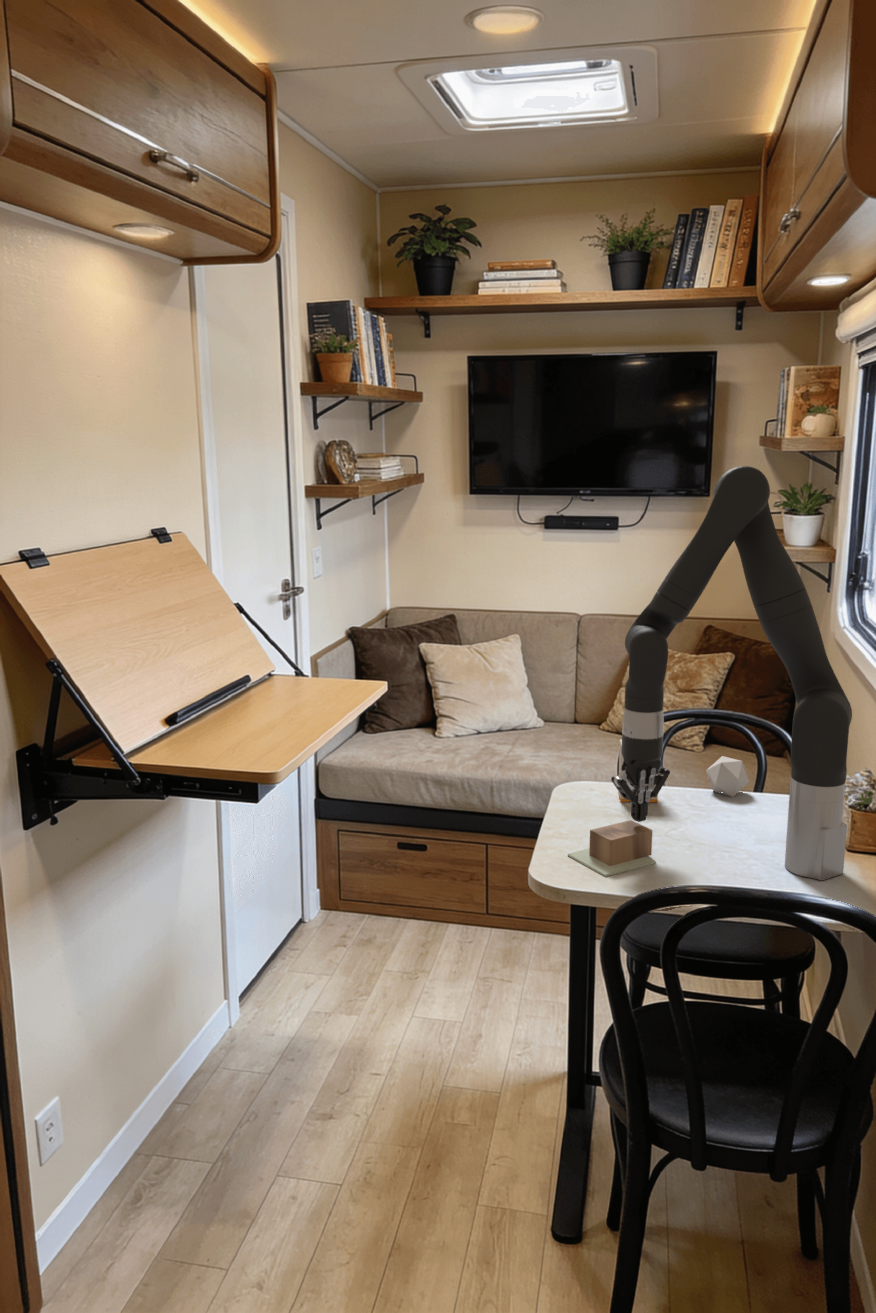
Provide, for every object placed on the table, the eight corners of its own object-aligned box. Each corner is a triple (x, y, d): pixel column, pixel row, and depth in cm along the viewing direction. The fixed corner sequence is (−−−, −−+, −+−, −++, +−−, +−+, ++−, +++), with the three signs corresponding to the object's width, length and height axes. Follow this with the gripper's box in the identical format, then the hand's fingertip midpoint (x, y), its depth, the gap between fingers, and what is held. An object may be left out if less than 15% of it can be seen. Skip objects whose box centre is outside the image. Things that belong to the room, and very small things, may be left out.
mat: (655, 862, 185) (655, 860, 185) (605, 876, 179) (605, 874, 179) (617, 843, 194) (617, 841, 194) (567, 855, 188) (567, 853, 188)
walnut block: (652, 829, 186) (610, 840, 181) (651, 855, 187) (610, 866, 182) (630, 820, 191) (590, 829, 187) (630, 844, 192) (589, 854, 188)
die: (755, 796, 222) (744, 755, 226) (747, 788, 215) (736, 746, 219) (718, 805, 225) (708, 765, 229) (710, 797, 218) (700, 755, 222)
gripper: (628, 741, 178) (625, 833, 182) (683, 731, 185) (679, 819, 188) (601, 732, 185) (599, 820, 188) (655, 722, 191) (652, 807, 195)
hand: (639, 819), depth 188 cm, fingers closed
